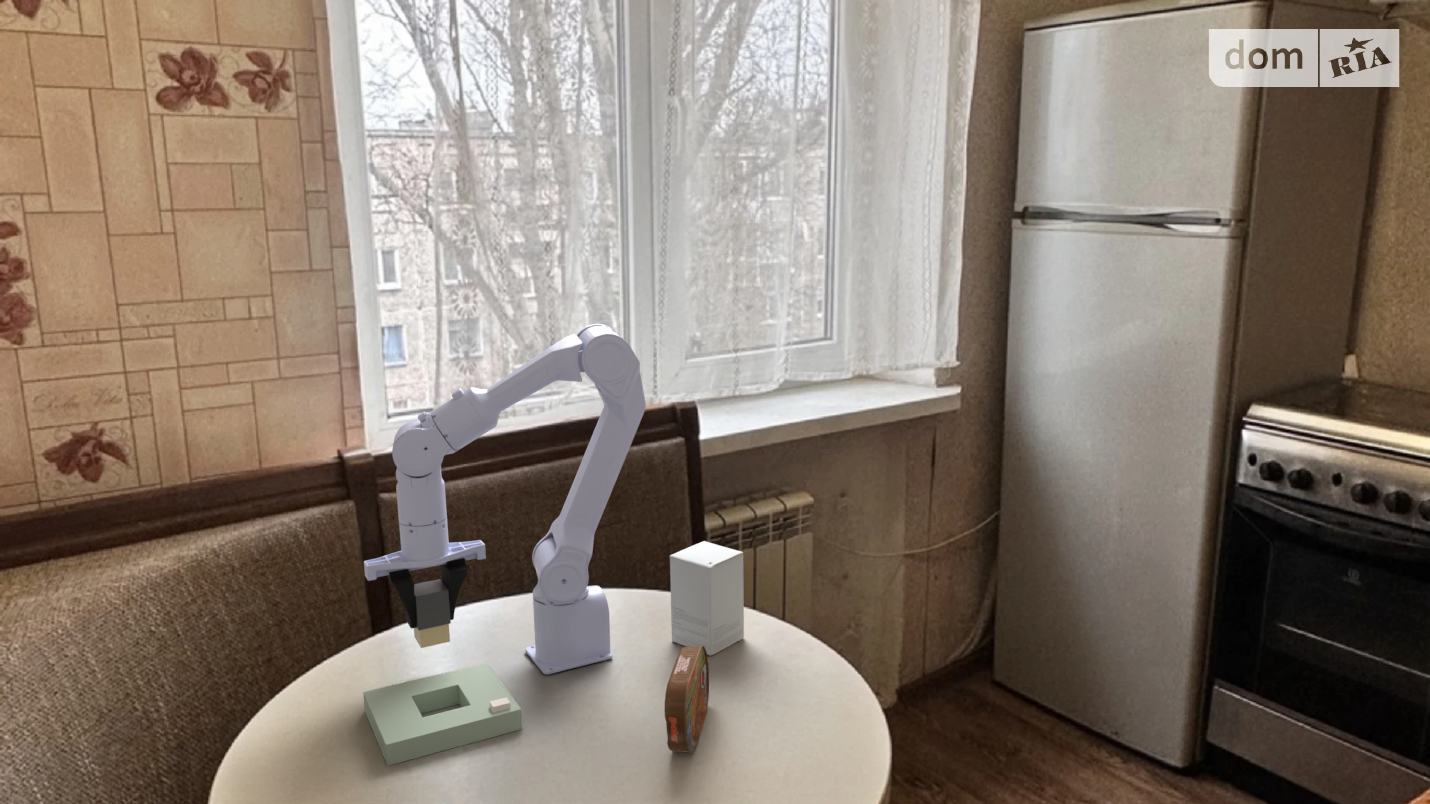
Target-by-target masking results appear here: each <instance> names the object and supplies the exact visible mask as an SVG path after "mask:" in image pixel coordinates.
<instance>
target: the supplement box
mask: <svg viewBox="0 0 1430 804" xmlns="http://www.w3.org/2000/svg"><path fill="white" fill-rule="evenodd" d="M669 571H670V572H669V574H670V580H669V582H670V615H671V617H670V618H671V620H670V621H671V622H670V623H671V624H670V625H671V641H672V643H675V644H678V645H682V646H684V647H700V646H704V647H705V649H706V652H707V656H713V655H715V654H718V653H719V652H721V651H723V650H725V649H727V648H728V647H730V646H732V645H734V644H736V643H737V641H738V642H739V641H741V640H743V639H744V637H745V621H744V619H745V611H744V610H745V609H744V606H745V605H744V604H745V603H744V602H745V600H744V585H745V584H744V552H743V551H740V550H737V549H733V548H730V547H727V546H722V545H719V544H715V543H712V542H709V541H706V540H703V541H701V542H699V543H695V544H693V545H690V546H689V547H686V548H684V549H681V550H679V551H677V552H675V553H673V554H670V555H669Z"/></svg>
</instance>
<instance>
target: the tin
mask: <svg viewBox="0 0 1430 804" xmlns="http://www.w3.org/2000/svg"><path fill="white" fill-rule="evenodd" d="M708 660H709V659H708V655H707V652H706V649H705V647H704V646H700V647H686V646H684V647H682V648H680V650H679V652H678V655H677V658H676V660H675V663H674V665H673V666H672V670H671V673H670V676H669V678H668V682H667V684H666V689H665V696H664V697H665V698H664V718H665V724H666V736H667V742H666V744H667V747H668V749H669V751H671V752H675V753H676V752H678V753H683V752H684V753H690V754H694V753H695V752H696V750H697V747H698V744H699V740H700V736H701V734H702V730H703V726H704V723H705V720H706V716H707V713H708V712H707V711H708V707H709V697H710V674H709V673H710V672H709V671H710V670H709V668H710V667H709V661H708Z"/></svg>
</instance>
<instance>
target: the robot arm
mask: <svg viewBox="0 0 1430 804" xmlns="http://www.w3.org/2000/svg"><path fill="white" fill-rule="evenodd" d="M640 368H641V363H640V359H638V357H637V354H635V352H634V350H633V348H632V346H631V345H630V344H629V342H628V341H627V340H626V339H625V338H623V337H622V336H620V335H619V334H618V333H617V332H616V331H615V330H614V329H613V328H612V327H609V326H608V325H606V324H601V323H595V324H594V323H593V324H589V325H587V326H584V328H582V329H581V330H580V331H579V332H578V333H576V334H575V333H572V334H570V335H568V336H565V337H563V338H562V339H560V340H559V341H557V342H555V343H554V344H553V345H550V347H547V348H546V349H544V350H543V351H542V352H540V353H539V354H537V355H535V356H534V357H533V358H532V359H530V360H528V361H527V362H525V363H524V364H522V365H521V366H519V367H518V368H516V369H515V370H514V371H512V372H510V373H509V374H508V375H506V376H504V377H503V378H502V379H499V380H498V381H497V382H495V383H494V384H492V385H490V386H489V387H488V388H487V389H485V388H484V389H483V388H477V387H474V386H473V387H469V388H468V389H465V390H464V391H463V389H462V388H461V387H459V388H458V389H455V390H454V391H453V392H451V397H452V398H451V399H449V400H447V401H446V402H444V403H442V404H441V405H440V406H438V407H436V408H434V409H433V410H432V411H430V412H428V413H427V412H426V411H422V412H421V413H419V414H418V416H417V419H418V420H417V421H415V420H412V421H409V422H406V423H405V424H403V425H402V426H401V427H399V429H398V430H397V432H396V433H395V435H394V439H393V443H392V450H391V455H392V460H393V463H394V465H395V466H396V471H395V477H396V481H397V483H396V487H395V489H396V491H395V492H396V502H397V503H396V504H397V513H398V514H397V515H398V524H399V525H398V526H399V528H398V529H399V538H400V549H401V550H399V551H396V552H392V553H389V554H385V555H383V556H380V557H376V558H371V559H367V560H364V561H363V568H364V569H363V571H364V577H365V578H366V580H367V581H368V582H371V581H376V580H378V578H380V577H385V576H387V578H388V579H389V581H390V584H392V586H393V588H394V589H395V592H396V593H397V595H398V598H399V600H400V602H401V604H402V607H403V609H404V613H405V617H406V621H407V625H408V626H409V628H410V629H414V628H417V621H416V612H415V605H414V584H415V581H414V580H413V578H412V574H411V573H410V572H412V571H417V570H422V569H427V568H433V567H438V566H439V570H440V577H441V581H442V582H443V583H444V585H445V586H446V587H447V589H448V592H449V606H450V620H451V621H453V620H454V619H455V611H456V607H457V606H456V605H457V601H458V598H459V594H460V592H461V589H462V586H463V584H464V582H465V580H466V578H467V576H468V572H469V566H468V565H467V564H466V561H469V560H474V559H476V560H478V561H479V560H486V558H487V556H486V554H487V553H486V543H484V542H483V541H482V540H481V539H478V540H470V541H459V542H449V541H450V540H449V530H448V527H449V526H448V525H449V524H448V515H447V513H448V512H447V499H446V485H445V484H446V483H445V480H444V479H443V477H442V464H443V462H444V461H443V460H444V457H445V456H447V455H451V454H452V455H453V454H454V453H457V452H458V451H459V450H461V449H462V448H464V447H466V446H467V445H469V444H471V443H472V442H473V441H475V440H477V439H479V438H480V437H482V436H483V435H486V434H487V433H488V432H490V431H491V430H493V429H494V428H496V427H497V426H498V422H499V417H500V414H501V412H503V411H505V410H506V409H508V408H510V407H512V406H514V405H515V404H517V403H520V402H521V401H522V400H524V399H526V398H527V397H529V396H531V395H533V394H535V393H536V392H538V391H540V390H542V389H543V388H545V387H547V386H549V385H551V384H552V383H554V382H556V381H562V382H576V383H577V382H578V383H581V382H583V378H582V373H585V375H587V377H588V378H589V380H591V381H592V383H593V384H594V386H595V388H596V390H597V392H598V394H599V396H600V398H601V400H602V403H603V407H602V410H601V413H600V415H599V418H598V419H597V423H596V426H595V428H594V430H593V432H592V435H591V437H590V441H589V442H588V444H587V446H586V449H585V452H584V455H583V457H582V460H581V462H580V465H579V467H578V470H577V472H576V474H575V478H574V480H573V482H572V484H571V487H570V489H569V492H568V495H567V497H566V500H565V501H564V504H563V507H562V509H561V511H560V513H559V515H558V517H557V518H555V520H553V522H552V523H551V525H550V528H549V530H548V532H547V533H546V534H545V536H544V537H542V538H541V539H540V540H539V541H538V542H537V543H536V545H535V546H534V548H533V551H532V555H531V556H532V557H531V560H532V565H533V567H534V569H535V571H536V576H537V584H536V585H535V586H534V588H533V590H532V605H533V607H532V608H533V609H532V610H533V623H534V624H533V625H534V626H533V627H534V629H533V631H534V645H531V646H527V647H525V650H524V652H525V653H526V654H527V655H528V656H529V657H530V658H531V660H532V661H533V663H535V665H536V667H537V668H538V669H539V670H540V671H541V672H542V674H543V675H551V674H555V673H560V672H563V671H567V670H571V669H574V668H575V669H576V668H579V667H583V666H587V665H592V664H595V663H599V662H602V661H607V660H611V659H613V656H614V654H613V653H612V652H611V631H610V630H611V629H610V627H611V626H610V625H611V624H610V609H609V603H608V599H607V596H606V594H605V592H604V589H602V587H600V585H588V584H589V580H590V579H589V577H590V575H589V564H590V561H591V559H592V556H593V550H594V549H593V548H594V541H595V532H596V530H597V528H598V526H599V523H600V520H601V518H602V516H603V514H604V512H605V511H604V510H605V509H606V507H607V505H608V504H607V503H608V501H609V499H610V497H611V495H612V492H613V489H614V487H615V485H616V482H617V480H618V477H619V474H620V471H621V469H622V467H623V465H624V462H625V460H626V458H627V456H628V452H629V450H630V448H631V445H632V443H633V441H634V438H635V435H636V433H637V431H638V429H639V426H640V423H641V420H642V418H643V416H644V413H645V412H646V405H647V404H646V397H645V393H644V387H643V381H642V375H641V369H640Z"/></svg>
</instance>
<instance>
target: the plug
mask: <svg viewBox="0 0 1430 804" xmlns="http://www.w3.org/2000/svg"><path fill="white" fill-rule="evenodd" d="M414 605H415V612H416V621H417V628H413V633H414V634H413V637H414V639H415V641H416V642H417V644H418V645H419V647H420V648H421V649H423V648H427V647H431V646H436V645H441V644H445V643H450V642H451V638H450V637H451V635H450V624H451V621H452V620H450V606H449V592H448V589H447V587H446V586H445V585H444V583H443V582H442V578H441V579H440V578H439V579H434V580H430V581H425V582H419V583H414Z"/></svg>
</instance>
